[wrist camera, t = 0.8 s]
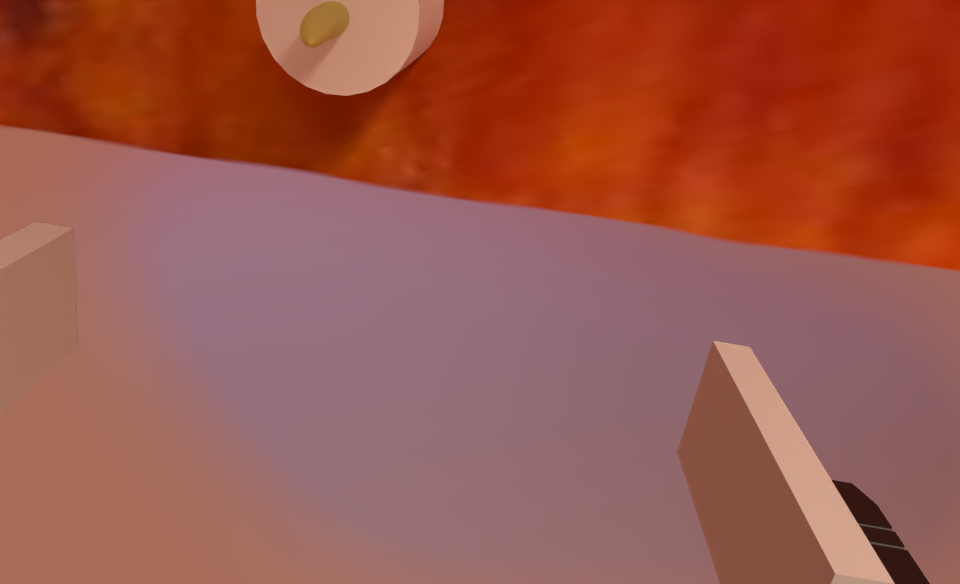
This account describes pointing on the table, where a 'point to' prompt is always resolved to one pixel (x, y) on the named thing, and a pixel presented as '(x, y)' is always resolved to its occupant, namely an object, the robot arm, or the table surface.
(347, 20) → the candle
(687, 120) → the table surface
